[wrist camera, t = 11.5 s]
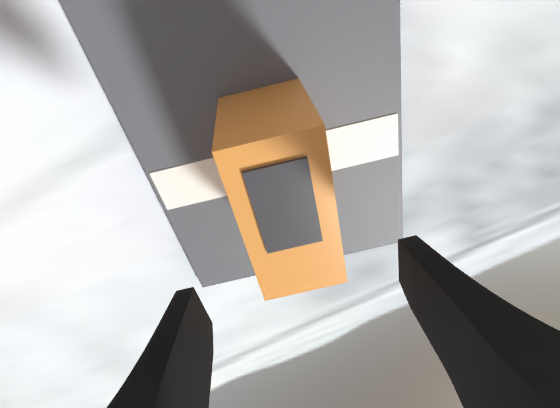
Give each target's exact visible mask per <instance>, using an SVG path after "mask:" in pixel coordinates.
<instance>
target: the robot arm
mask: <svg viewBox="0 0 560 408" xmlns="http://www.w3.org/2000/svg"><path fill="white" fill-rule="evenodd" d="M398 260H399V282H400V284H401V286H402V289H403V291H404V294H405V296H406V298H407V301H408V303H409V305H410V307H411V309H412V311H413V313H414V315H415V316H416V318H417V320H418V321H419V323H420V325H421V327H422V329H423V331H424V332H425V334H426V336H427V338H428V339H429V341H430V343H431V345H432V346H433V348H434V350H435V352H436V353H437V355H438V357H439V358H440V360H441V362H442V364H443V366H444V367H445V369H446V371H447V373H448V375H449V377H450V379H451V381H452V383H453V385H454V388H455V390H456V392H457V394H458V396H459V398H460V401H461V403H462V405H463V407H464V408H560V331H559V330H557V329H555V328H553V327H551V326H549V325H547V324H545V323H543V322H541V321H540V320H538V319H536V318H534V317H532V316H530V315H529V314H527V313H525V312H524V311H522V310H520V309H518V308H517V307H515V306H513V305H511V304H510V303H508V302H507V301H505V300H503V299H502V298H500V297H499V296H497V295H496V294H494V293H493V292H491V291H489V290H488V289H487V288H485V287H483V286H482V285H481V284H479V283H478V282H476V281H475V280H473V279H472V278H471V277H469V276H468V275H466V274H465V273H464V272H462V271H461V270H460V269H458V268H457V267H455V266H454V265H453V264H452V263H450V262H449V261H448V260H446V259H445V258H444V257H443V256H441V255H440V254H439V253H437V252H436V251H435V250H434V249H432V248H431V247H430V246H429V245H428V244H426V243H425V242H424V241H423V240H421V239H420V238H419V237H417V236H416V235H415V236H411V237H407V238H402V239H398ZM212 362H213V327H212V321H211V320H210V318H209V316H208V314H207V312H206V310H205V308H204V306H203V304H202V302H201V301H200V299H199V297H198V295H197V293H196V291H195V289H194V287H191V288H187V289H183V290H179V291H176V293H175V294H174V296H173V298H172V300H171V302H170V304H169V306H168V308H167V309H166V311H165V313H164V315H163V317H162V319H161V321H160V323H159V325H158V326H157V328H156V330H155V332H154V334H153V336H152V337H151V339H150V341H149V343H148V344H147V346H146V348H145V350H144V351H143V353H142V355H141V357H140V358H139V360H138V361H137V363H136V365H135V366H134V368H133V370H132V371H131V373H130V374H129V376H128V378H127V379H126V381H125V382H124V384H123V385H122V387H121V388H120V390H119V391H118V393H117V394H116V395H115V397H114V398H113V400H112V401H111V403H110V404H109V405H108V407H107V408H208V407H209V396H210V385H211V374H212Z"/></svg>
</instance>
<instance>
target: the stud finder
mask: <svg viewBox="0 0 560 408" xmlns="http://www.w3.org/2000/svg"><path fill="white" fill-rule="evenodd" d="M212 154H213V157H214V160H215V163H216V165H217V168H218V171H219V174H220V177H221V179H222V182H223V185H224V188H225V191H226V193H227V196H228V199H229V202H230V205H231V207H232V210H233V213H234V216H235V219H236V221H237V224H238V227H239V230H240V233H241V235H242V238H243V241H244V244H245V247H246V249H247V252H248V255H249V258H250V260H251V263H252V266H253V269H254V272H255V274H256V277H257V280H258V283H259V286H260V288H261V291H262V294H263V297H264V300H265V301H266V300H270V299H275V298H279V297H284V296H288V295H293V294H297V293H301V292H306V291H310V290H315V289H319V288H323V287H328V286H332V285H337V284H341V283H345V282H347V275H346V268H345V261H344V254H343V247H342V240H341V233H340V226H339V219H338V212H337V205H336V198H335V191H334V184H333V177H332V170H331V163H330V156H329V149H328V142H327V135H326V128H325V124H324V122H323V120H322V119H321V117H320V115H319V113H318V111H317V110H316V108H315V106H314V104H313V103H312V101H311V99H310V97H309V95H308V94H307V92H306V90H305V88H304V87H303V85H302V83H301V81H300V79H299V78H298V79H293V80H289V81H285V82H281V83H277V84H273V85H269V86H265V87H261V88H257V89H253V90H249V91H245V92H241V93H236V94H232V95H228V96H224V97H220V98H218V105H217V113H216V121H215V130H214V138H213V146H212Z"/></svg>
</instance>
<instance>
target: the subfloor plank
mask: <svg viewBox="0 0 560 408" xmlns="http://www.w3.org/2000/svg"><path fill="white" fill-rule="evenodd" d="M59 1H60V3H61V5H62V7H63V9H64V11H65V13H66V15H67V17H68V19H69V21H70V23H71V25H72V27H73V29H74V31H75V33H76V35H77V37H78V39H79V41H80V43H81V45H82V47H83V49H84V51H85V53H86V55H87V57H88V59H89V61H90V63H91V65H92V67H93V69H94V71H95V73H96V75H97V77H98V79H99V81H100V83H101V85H102V87H103V89H104V91H105V93H106V95H107V97H108V99H109V101H110V103H111V105H112V107H113V109H114V111H115V113H116V115H117V117H118V119H119V121H120V123H121V125H122V127H123V129H124V131H125V133H126V135H127V137H128V139H129V141H130V143H131V145H132V147H133V149H134V151H135V153H136V155H137V157H138V159H139V161H140V163H141V165H142V167H143V169H144V171H145V173H146V175H147V177H148V179H149V181H150V183H151V185H152V187H153V189H154V191H155V193H156V195H157V197H158V199H159V201H160V203H161V205H162V207H163V209H164V211H165V213H166V215H167V217H168V219H169V221H170V223H171V225H172V227H173V229H174V231H175V233H176V235H177V237H178V239H179V241H180V243H181V245H182V247H183V249H184V251H185V253H186V255H187V257H188V259H189V261H190V263H191V265H192V267H193V269H194V271H195V273H196V275H197V277H198V279H199V281H200V283H201V285H202V287H207V286H211V285H215V284H220V283H224V282H228V281H233V280H237V279H241V278H246V277H250V276H254V275H256V274H255V272H254V269H253V266H252V263H251V260H250V258H249V255H248V252H247V249H246V247H245V244H244V241H243V238H242V235H241V233H240V230H239V227H238V224H237V221H236V219H235V216H234V213H233V210H232V207H231V205H230V202H229V199H228V196H227V193H226V191H225V188H224V185H223V182H222V179H221V177H220V174H219V171H218V168H217V165H216V163H215V160H214V157H213V154H212V146H213V138H214V130H215V121H216V113H217V105H218V98H220V97H224V96H228V95H232V94H236V93H241V92H245V91H249V90H253V89H257V88H261V87H265V86H269V85H273V84H277V83H281V82H285V81H289V80H293V79H298V78H299V79H300V81H301V83H302V85H303V87H304V88H305V90H306V92H307V94H308V95H309V97H310V99H311V101H312V103H313V104H314V106H315V108H316V110H317V111H318V113H319V115H320V117H321V119H322V120H323V122H324V124H325V128H326V135H327V142H328V149H329V156H330V163H331V170H332V177H333V184H334V191H335V198H336V205H337V212H338V219H339V226H340V233H341V240H342V247H343V254H344V255H346V254H350V253H354V252H359V251H363V250H367V249H372V248H376V247H380V246H385V245H389V244H393V243H398V239H402V238H403V227H402V139H401V52H400V0H59Z"/></svg>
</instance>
